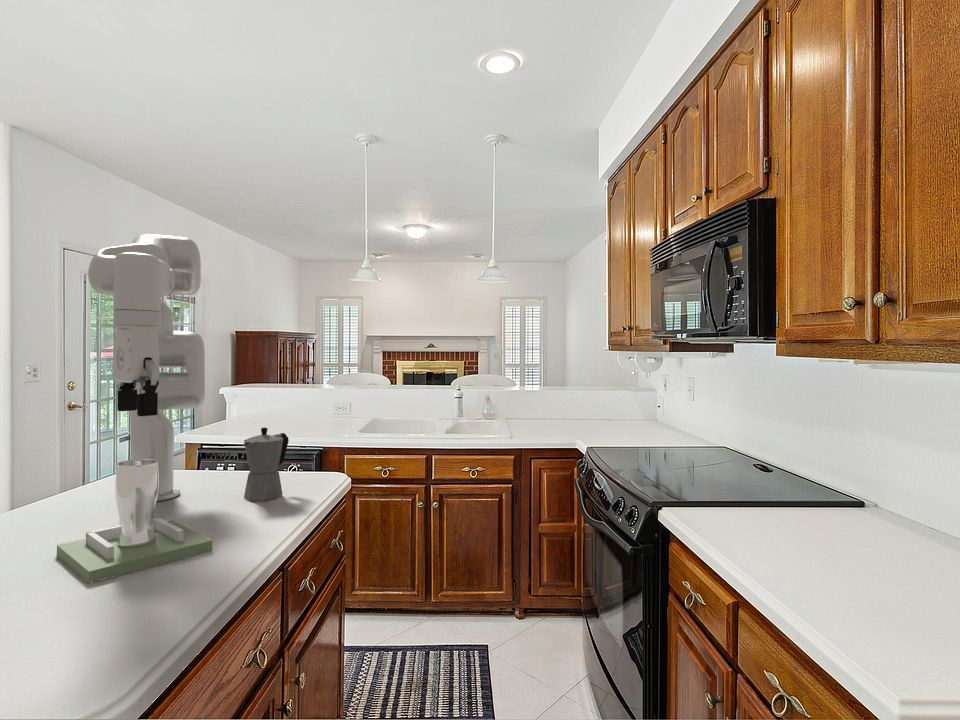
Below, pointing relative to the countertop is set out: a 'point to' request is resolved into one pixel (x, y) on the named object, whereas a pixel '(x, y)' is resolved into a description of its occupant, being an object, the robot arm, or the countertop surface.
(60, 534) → the countertop surface
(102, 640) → the countertop surface
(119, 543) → the beer glass
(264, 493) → the coffeepot
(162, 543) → the plate
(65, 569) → the countertop surface
